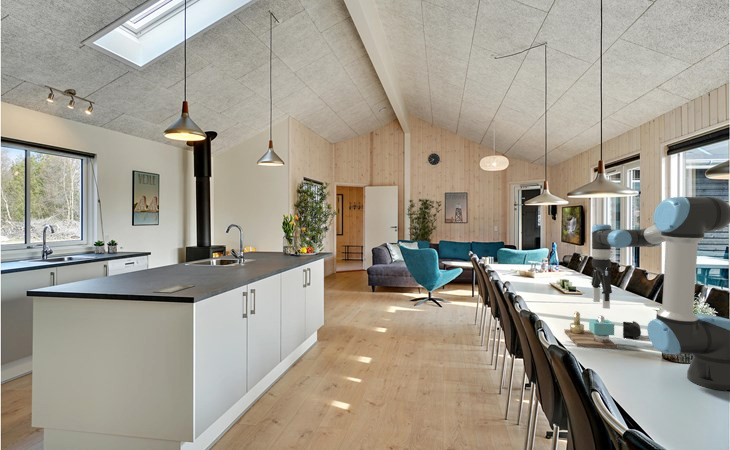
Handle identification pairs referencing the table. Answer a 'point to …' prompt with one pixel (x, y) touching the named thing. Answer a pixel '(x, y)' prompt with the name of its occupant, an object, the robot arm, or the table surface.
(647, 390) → the table surface
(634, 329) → the end cap
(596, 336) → the stand rod
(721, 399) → the table surface
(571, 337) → the board
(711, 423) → the table surface
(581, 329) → the hub
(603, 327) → the collar
